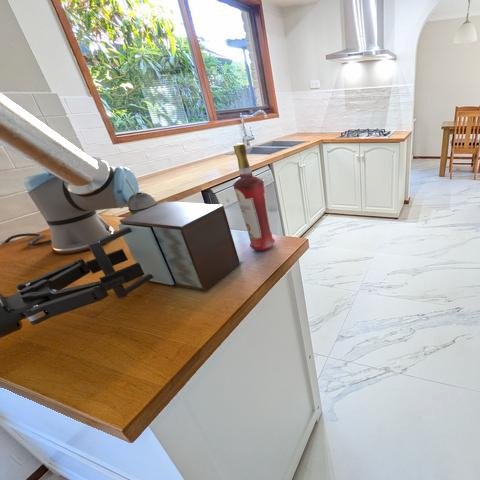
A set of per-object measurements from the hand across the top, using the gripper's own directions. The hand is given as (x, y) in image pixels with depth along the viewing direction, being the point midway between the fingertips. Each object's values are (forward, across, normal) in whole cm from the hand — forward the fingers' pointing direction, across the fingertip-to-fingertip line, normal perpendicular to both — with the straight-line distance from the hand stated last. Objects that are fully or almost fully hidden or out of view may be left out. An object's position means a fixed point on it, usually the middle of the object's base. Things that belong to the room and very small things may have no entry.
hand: (132, 261), depth 62 cm
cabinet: (+11, 0, -8) cm, 14 cm away
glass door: (-1, 0, -8) cm, 8 cm away
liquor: (+28, +5, -9) cm, 30 cm away
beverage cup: (+12, -28, -9) cm, 32 cm away
